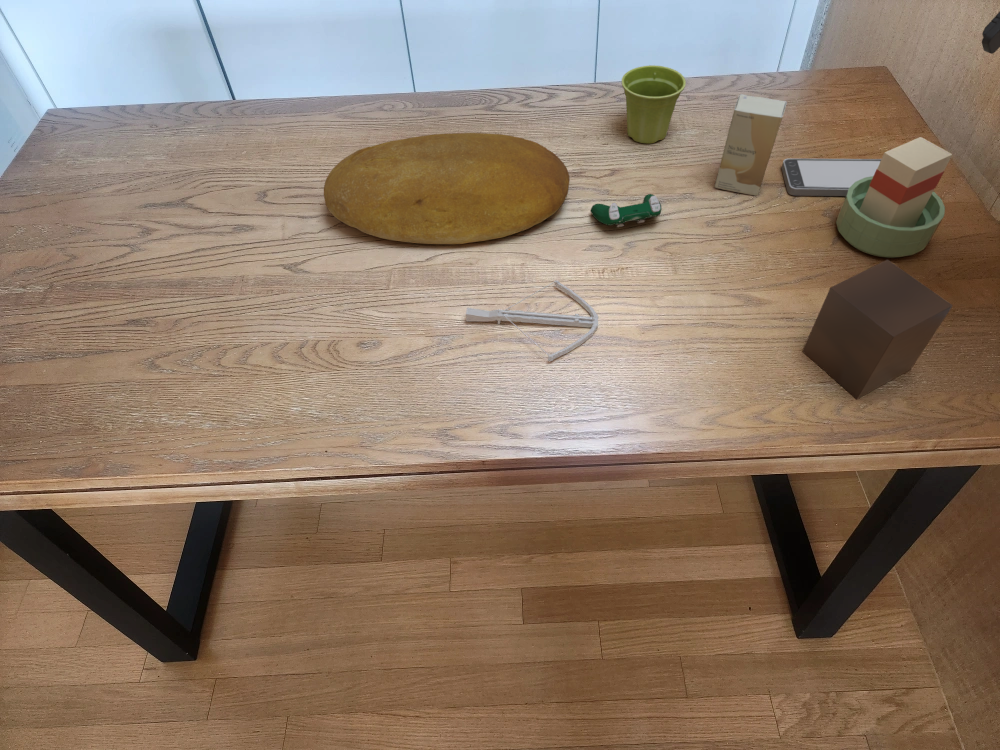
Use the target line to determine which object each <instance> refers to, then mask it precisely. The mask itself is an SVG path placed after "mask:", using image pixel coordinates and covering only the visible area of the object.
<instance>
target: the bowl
mask: <svg viewBox="0 0 1000 750" xmlns="http://www.w3.org/2000/svg"><path fill="white" fill-rule="evenodd" d="M872 178H873V176H871V177H866V178H863V179H861V180H858V181H856V182H855V183H854V184H853V185H852V186H851V187H850V188H849V189H848V191H847V194H846V196H844V199H843V201H842V204H841V206H840V209H839V211H838V214H837V217H836V221H835V224H836V227H837V231H838V233H839V234H840V235H841V236H842V237H843V238H844V240H845V241H846V242H847V243H848V244H849V245H851V246H852V248H853V247H854V248H855V249H856V250H858V251H860V252H863V253H865V254H868V255H871V256H874V257H879V258H889V259H890V258H902V257H908V256H913V255H916V254H918V253H920V252H921V251H923V250H925V249H926V247H927V246H928V245H929V244H930V243H931V240H932V239H933V237H934V235H935V233H936V232H937V230H938V228H939V227H940V224H941V222H942V221H943V219H944V217H945V213H946V206H945V204H944V202H943V199H942V198H941V197H940V196H939V195H938V194H937V193H936V192H935V191H933V193H932V195H931V196H930V198H929V200H928V202H927V204H926V206H925V208H924V210H923V212H922V214H921V215H920V217H919V219H918V221H917V223H916V225H915V227H912V228H910V227H895V226H890V225H886V224H882V223H880V222H877V221H875V220H872V219H870V218H869V217H867V216H866V215H864V214H863V213H861V212H860V211H859V210H860V207H861V205H862V203H863V201H864V198H865V196H866V194H867V191H868V189H869V187H870V186H869V185H870V183H871V181H872Z"/></svg>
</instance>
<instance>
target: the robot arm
mask: <svg viewBox="0 0 1000 750" xmlns="http://www.w3.org/2000/svg"><path fill="white" fill-rule="evenodd" d="M981 35H982V39H981V46H982V49H983V51H984V52H985V53H988V54H991V55H992V54H994V53H996V52H997V51H998V50H999V49H1000V11H999V12H998V13H996V15H995V16H994V17H993V18H992V19H991V21H990V22H988V23H987V24H986V26H985V27H984V28H983V32H982V33H981Z"/></svg>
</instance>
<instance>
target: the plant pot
mask: <svg viewBox="0 0 1000 750" xmlns="http://www.w3.org/2000/svg"><path fill="white" fill-rule="evenodd" d="M686 84H687V81H686V78H685V76H684V75H683V74H682V73H681V72H679V71H678V70H676V69H674V68H671V67H668V66H664V65H655V64H654V65H650V64H649V65H642V66H637V67H635V68H632V69H630V70H628V71H626V72H625V73H624V74H623V76H622V77H621V86H622V88H623V90H624V91H623V92H624V95H625V106H626V131H627V136H628V137H630V138H632V140H633V141H634V142H636V143H639V144H649V145H650V144H655V143H656V142H658V141H660V140H661V141H663V140H664V139H665V138H666V137H667V133H668V130H669V127H670V124H671V120H672V118H673V114H674V111H675V107H676V104H677V102H678V101H677V100H678V99H679V97H680V96H681V93H682V92H683V91H684V90H685V88H686V86H687V85H686Z"/></svg>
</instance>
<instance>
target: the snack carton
mask: <svg viewBox="0 0 1000 750" xmlns="http://www.w3.org/2000/svg"><path fill="white" fill-rule="evenodd" d="M953 154H954V153H953ZM953 154H952V153H951V152H950V151H947V150H946V149H944V148H942V147H940V146H939V145H937V144H935V143H933V142H931V141H929V140H927V139H925V138H924V137H922V136H919V137H917V138H914V139H912V140H910V141H907V142H905V143H903V144H901V145H899V146H897V147H894V148H892V149H889V150H887V151H884V153H883V154H882V156H881V158H880V159H881V161H880V164H879V166H878V168H877V169H876V171H875V174H874V176H873V178H872V181H871V183H870V185H869V186H870V187H869V189H868V191H867V194H866V196H865V198H864V201H863V203H862V205H861V207H860V210H859V211H860V212H861V213H863V214H864V215H866V216H867V217H869V218H870V219H872V220H875V221H877V222H880V223H882V224H886V225H890V226H895V227H910V228H912V227H915V225H916V223H917V221H918V219H919V217H920V215H921V214H922V212H923V210H924V208H925V206H926V204H927V202H928V200H929V198H930V196H931V195H932V193H933V191H934V190H935V189H937V186H938V185H939V183H940V180H941V179H942V177H943V175H944V173H945V170H946V168H947V166H948V164H949V162H950V161H951V158H952V157H953ZM934 192H935V191H934Z"/></svg>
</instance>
